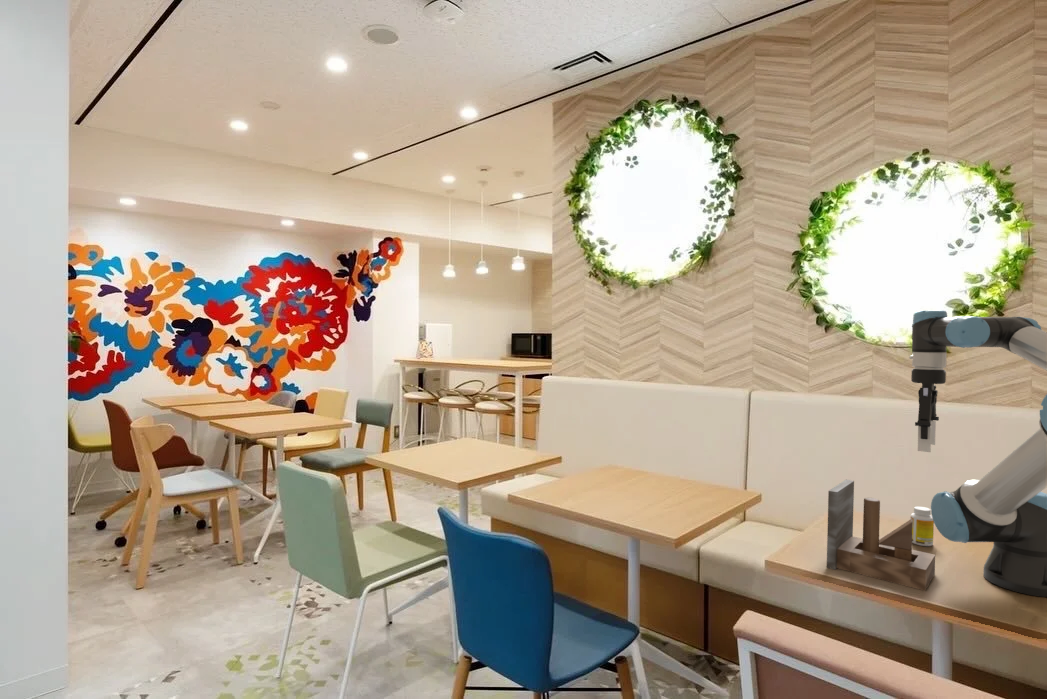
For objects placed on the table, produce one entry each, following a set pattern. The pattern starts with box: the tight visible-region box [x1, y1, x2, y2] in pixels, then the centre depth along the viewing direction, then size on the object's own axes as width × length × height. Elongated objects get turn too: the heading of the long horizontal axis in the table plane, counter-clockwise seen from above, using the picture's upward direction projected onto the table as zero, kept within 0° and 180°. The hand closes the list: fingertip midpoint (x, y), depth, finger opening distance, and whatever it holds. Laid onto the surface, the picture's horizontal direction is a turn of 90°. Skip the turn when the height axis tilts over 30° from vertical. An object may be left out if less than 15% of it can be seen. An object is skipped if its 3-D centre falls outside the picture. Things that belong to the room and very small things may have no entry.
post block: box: [826, 479, 936, 592], centre depth 149 cm, size 21×16×20 cm
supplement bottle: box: [909, 506, 935, 547], centre depth 168 cm, size 6×6×10 cm
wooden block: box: [862, 497, 913, 561], centre depth 148 cm, size 4×11×18 cm, turn 56°
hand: (926, 447), depth 156 cm, fingers open, 13 cm apart
